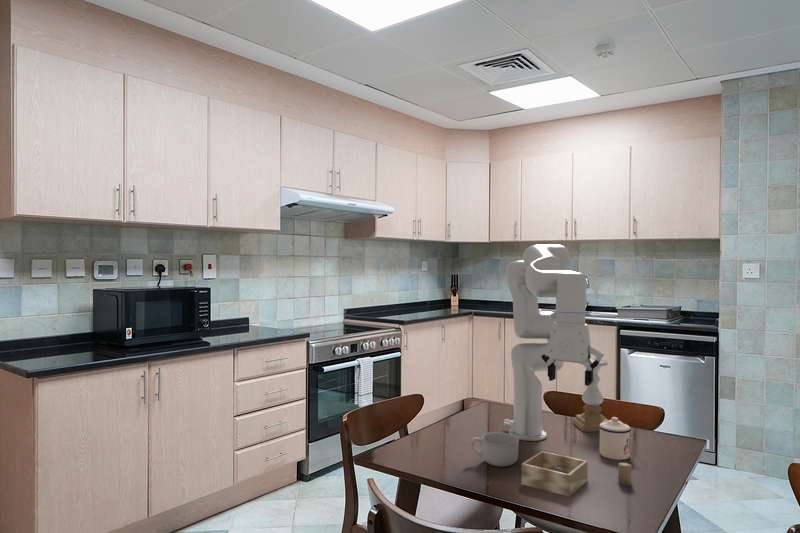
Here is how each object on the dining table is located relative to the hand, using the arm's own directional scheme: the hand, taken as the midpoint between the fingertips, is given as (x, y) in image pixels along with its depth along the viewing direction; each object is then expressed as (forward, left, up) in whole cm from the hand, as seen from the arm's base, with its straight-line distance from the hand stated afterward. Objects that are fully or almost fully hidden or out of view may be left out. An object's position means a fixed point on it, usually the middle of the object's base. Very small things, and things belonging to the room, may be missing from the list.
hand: (569, 382), depth 149 cm
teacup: (-23, +1, -28) cm, 36 cm away
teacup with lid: (+2, +32, -28) cm, 42 cm away
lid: (+12, +8, -28) cm, 31 cm away
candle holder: (-13, +56, -28) cm, 64 cm away
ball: (-3, 0, -27) cm, 27 cm away
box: (-3, -3, -27) cm, 28 cm away
